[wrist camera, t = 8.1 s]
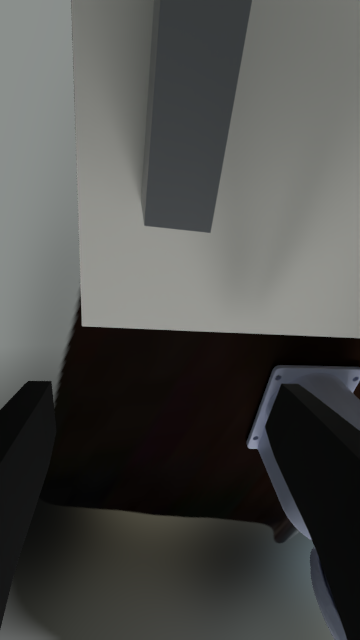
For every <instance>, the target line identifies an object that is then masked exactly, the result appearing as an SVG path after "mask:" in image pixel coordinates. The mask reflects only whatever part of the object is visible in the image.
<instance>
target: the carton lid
mask: <svg viewBox="0 0 360 640" xmlns="http://www.w3.org/2000/svg"><path fill="white" fill-rule="evenodd" d="M71 8H72V37H73V38H72V39H73V65H74V66H73V69H74V99H75V130H76V160H77V188H78V221H79V250H80V281H81V311H82V326H90V327H113V328H136V329H160V330H183V331H206V332H229V333H252V334H275V335H298V336H321V337H344V338H360V0H71Z"/></svg>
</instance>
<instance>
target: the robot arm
mask: <svg viewBox="0 0 360 640" xmlns="http://www.w3.org/2000/svg"><path fill="white" fill-rule="evenodd" d="M278 375H279V376H278ZM276 376H278V377H276ZM359 381H360V367H341V366H297V365H278V366H276V367H274V368H273V370H272V373H271V376H270V378H269V381H268V384H267V387H266V390H265V392H264V395H263V398H262V401H261V404H260V406H259V409H258V412H257V415H256V418H255V420H254V423H253V426H252V429H251V432H250V434H249V437H248V440H247V446H248V448H250V449H258V451H259V453H260V455H261V458H262V460H263V462H264V465H265V467H266V470H267V472H268V474H269V477H270V479H271V481H272V484H273V486H274V489H275V491H276V493H277V496H278V498H279V500H280V503H281V505H282V508H283V510H284V512H285V513H286V515H287V517H288V518H289V520H290V521H291V522H292V524H293V525H294V526H295V527H296V528H297V529H298V530H299V531H300V532H301V533H302V534H304V535H305V536H306V537H307V538H309V539H310V540H312V541H313V544H314V546H315V547H314V548H313V549H312V551H311V555H310V566H311V580H312V585H313V589H314V593H315V596H316V599H317V602H318V605H319V607H320V610H321V613H322V615H323V617H324V620H325V622H326V624H327V626H328V628H329V630H330V632H331V634H332V636H333V638H334V640H360V400H359V399H358V398H357V397H356V396H355V395H354V394H353V392H354V390H355V388H356V386H357V384H358V383H359ZM55 435H56V423H55V413H54V403H53V394H52V384H51V381H28V382H27V383H26V384H24V386H23V387H22V388H21V389H20V390H19V391H18V392H17V393H16V394H15V395H14V396H13V397H12V398H11V399H10V400H9V401H8V402H7V404H5V406H4V407H3V408H2V409H1V410H0V628H1V624H2V620H3V616H4V611H5V607H6V603H7V599H8V595H9V591H10V587H11V583H12V579H13V575H14V572H15V569H16V565H17V562H18V558H19V555H20V552H21V549H22V546H23V543H24V540H25V537H26V534H27V531H28V528H29V525H30V522H31V519H32V516H33V513H34V510H35V507H36V504H37V501H38V498H39V495H40V492H41V489H42V486H43V483H44V479H45V476H46V473H47V470H48V467H49V463H50V458H51V454H52V449H53V444H54V440H55Z"/></svg>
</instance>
